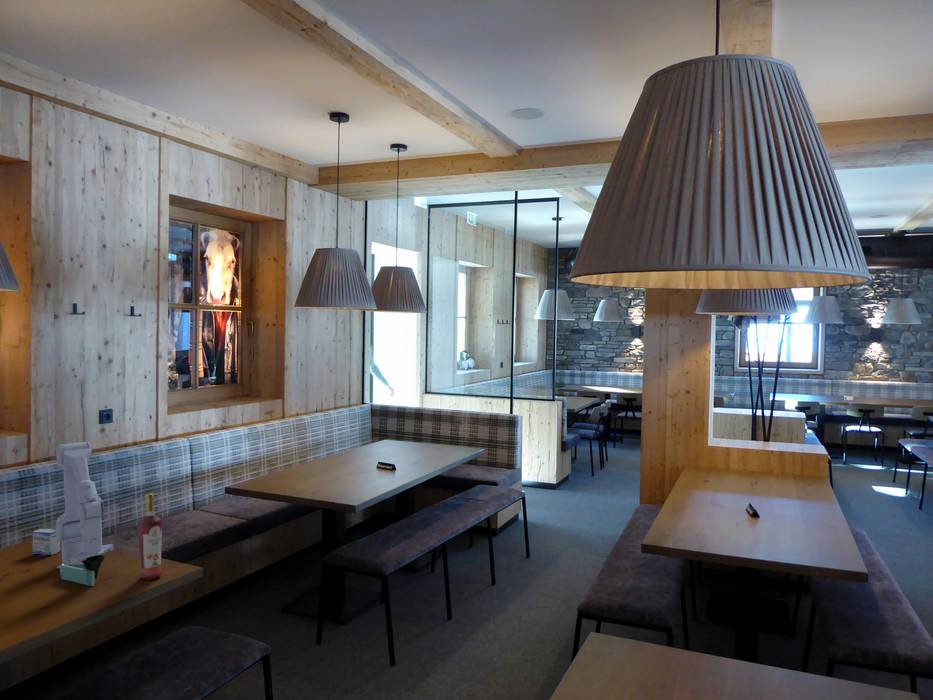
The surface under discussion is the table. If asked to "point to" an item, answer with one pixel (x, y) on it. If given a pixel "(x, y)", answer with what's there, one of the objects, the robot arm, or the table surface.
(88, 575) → the side door
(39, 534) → the medicine box
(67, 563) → the camera case
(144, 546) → the liquor
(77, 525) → the robot arm
